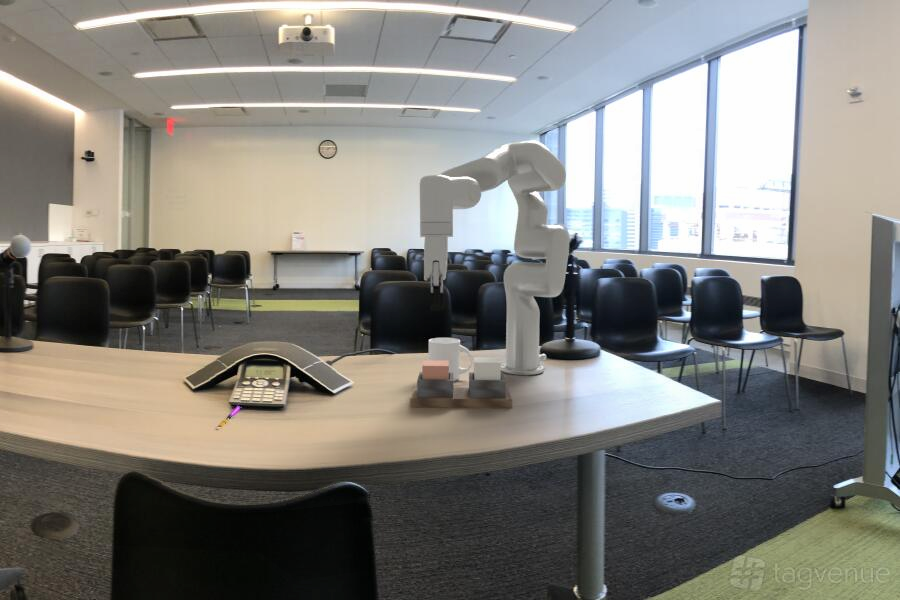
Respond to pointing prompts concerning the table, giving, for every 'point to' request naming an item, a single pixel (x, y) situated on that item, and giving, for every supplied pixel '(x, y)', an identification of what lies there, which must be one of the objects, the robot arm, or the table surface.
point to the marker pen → (230, 416)
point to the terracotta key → (435, 370)
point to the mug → (449, 354)
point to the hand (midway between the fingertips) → (437, 309)
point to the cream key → (487, 368)
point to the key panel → (461, 393)
